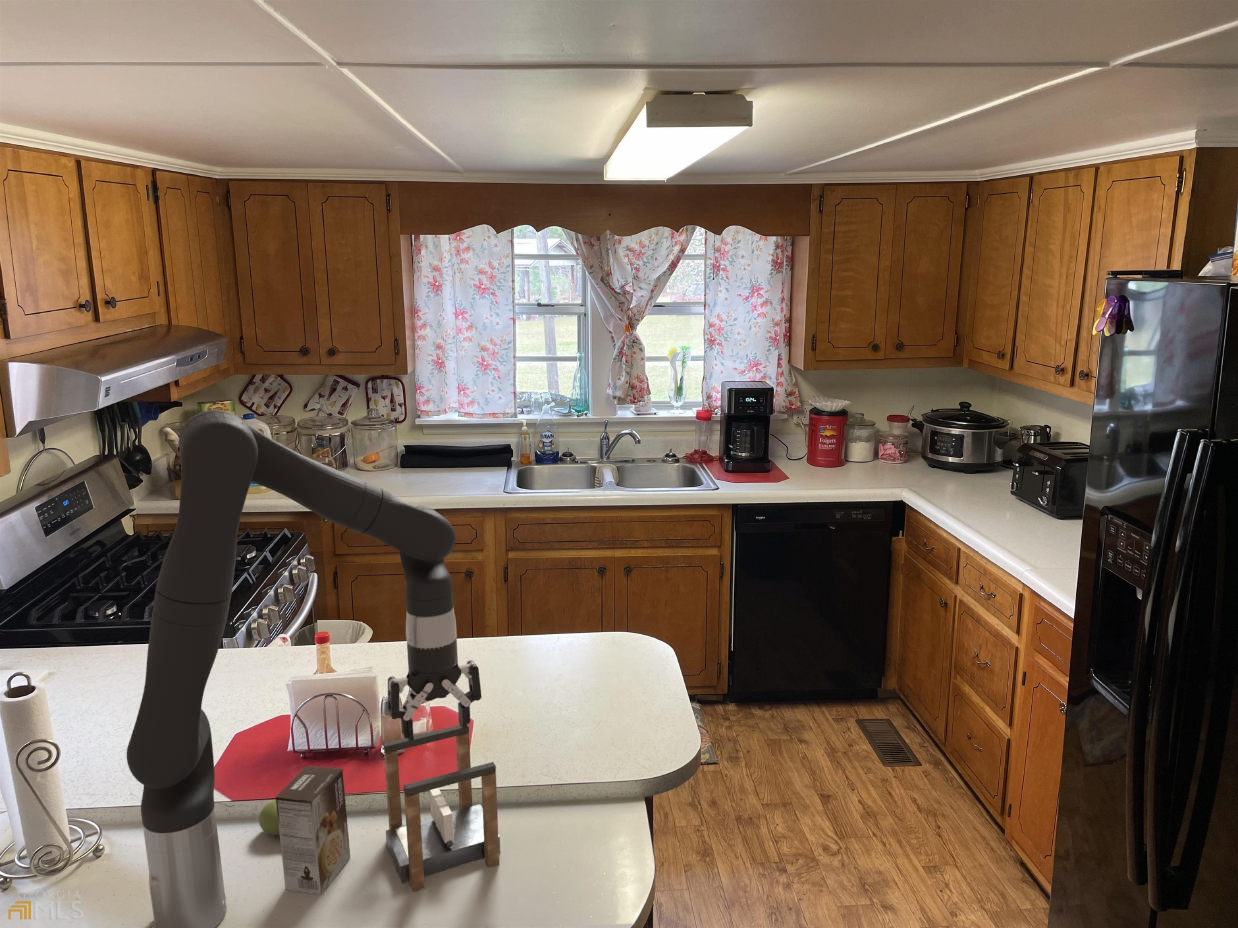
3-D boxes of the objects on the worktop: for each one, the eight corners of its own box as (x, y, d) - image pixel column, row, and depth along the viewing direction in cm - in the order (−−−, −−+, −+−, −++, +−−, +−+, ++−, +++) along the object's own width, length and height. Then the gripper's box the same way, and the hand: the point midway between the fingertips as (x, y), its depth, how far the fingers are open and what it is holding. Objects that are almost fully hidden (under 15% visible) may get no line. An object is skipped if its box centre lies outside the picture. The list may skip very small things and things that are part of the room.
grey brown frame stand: (412, 891, 136) (407, 797, 133) (389, 835, 150) (383, 748, 146) (499, 864, 142) (495, 773, 139) (469, 812, 156) (465, 728, 152)
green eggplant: (276, 789, 153) (324, 810, 150) (274, 815, 155) (322, 837, 152) (252, 807, 148) (301, 829, 145) (250, 834, 150) (299, 856, 146)
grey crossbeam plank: (405, 796, 133) (405, 789, 133) (403, 792, 134) (403, 784, 134) (495, 772, 139) (495, 765, 139) (493, 768, 140) (493, 761, 140)
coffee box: (315, 852, 145) (307, 763, 142) (351, 857, 144) (344, 767, 141) (283, 890, 137) (274, 795, 133) (322, 896, 135) (313, 800, 132)
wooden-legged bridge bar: (385, 753, 145) (384, 746, 144) (383, 749, 146) (383, 742, 146) (469, 732, 151) (468, 726, 151) (467, 729, 152) (466, 723, 152)
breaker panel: (401, 883, 138) (400, 865, 137) (386, 846, 147) (385, 829, 146) (500, 852, 145) (499, 835, 144) (480, 819, 154) (480, 803, 153)
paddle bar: (445, 848, 141) (444, 816, 140) (430, 817, 149) (428, 787, 148) (454, 846, 142) (453, 814, 140) (438, 815, 149) (437, 785, 148)
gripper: (390, 654, 131) (397, 754, 135) (484, 636, 138) (488, 732, 141) (379, 636, 138) (386, 732, 142) (469, 619, 144) (473, 711, 148)
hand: (436, 732), depth 141 cm, fingers open, 8 cm apart
